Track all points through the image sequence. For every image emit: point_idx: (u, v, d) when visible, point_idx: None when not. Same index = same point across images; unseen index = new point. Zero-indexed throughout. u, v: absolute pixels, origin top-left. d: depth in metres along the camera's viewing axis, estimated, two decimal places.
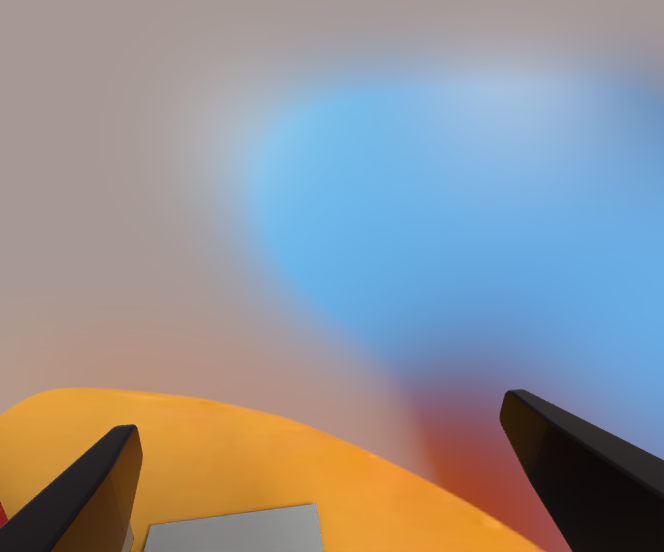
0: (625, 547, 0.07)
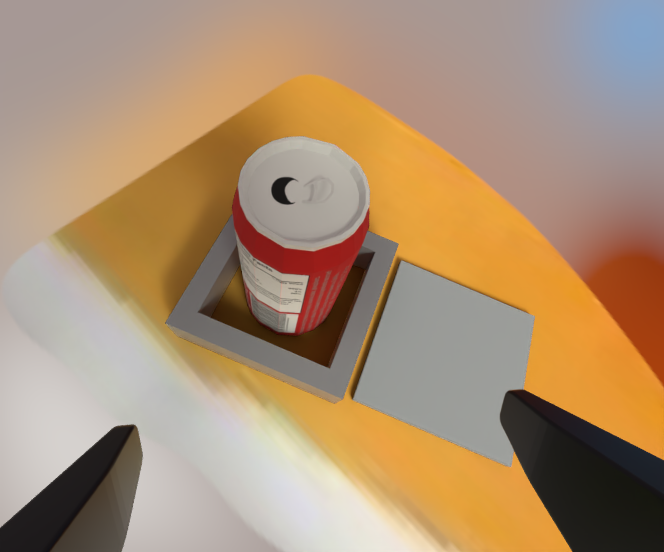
0: (625, 547, 0.07)
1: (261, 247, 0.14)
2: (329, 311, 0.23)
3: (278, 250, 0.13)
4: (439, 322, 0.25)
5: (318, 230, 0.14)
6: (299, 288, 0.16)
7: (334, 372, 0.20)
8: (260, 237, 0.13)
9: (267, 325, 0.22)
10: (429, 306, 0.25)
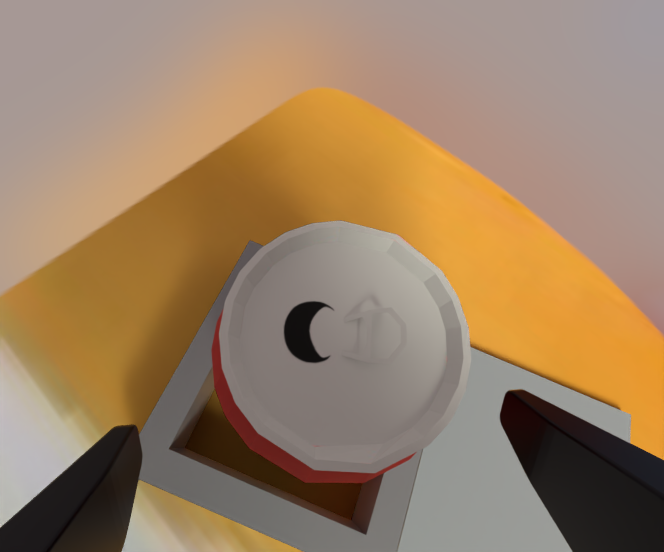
0: (625, 547, 0.07)
1: (265, 449, 0.07)
2: None
3: (299, 465, 0.07)
4: None
5: (376, 419, 0.07)
6: None
7: (373, 541, 0.14)
8: (263, 440, 0.07)
9: None
10: (491, 405, 0.19)
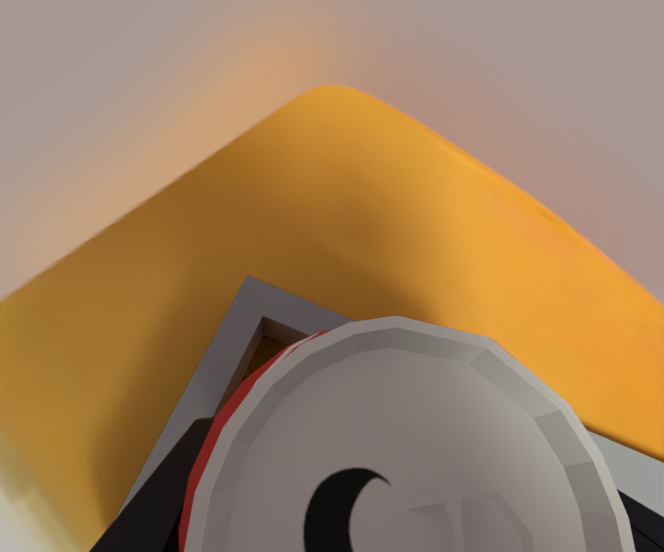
0: None
1: None
2: None
3: None
4: None
5: None
6: None
7: None
8: None
9: None
10: None
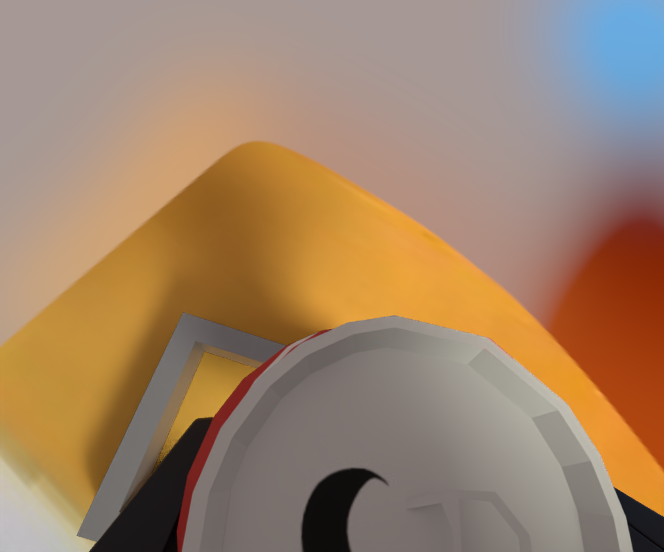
0: None
1: None
2: None
3: None
4: None
5: None
6: None
7: None
8: None
9: None
10: None
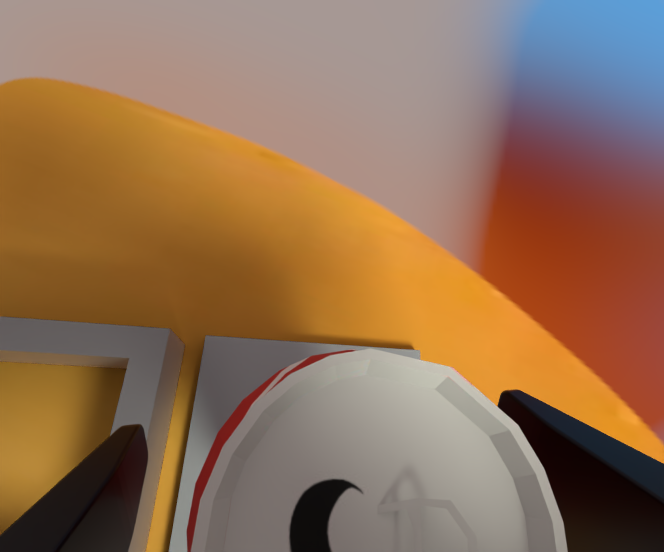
0: (619, 548, 0.07)
1: None
2: None
3: None
4: None
5: None
6: None
7: None
8: None
9: None
10: None
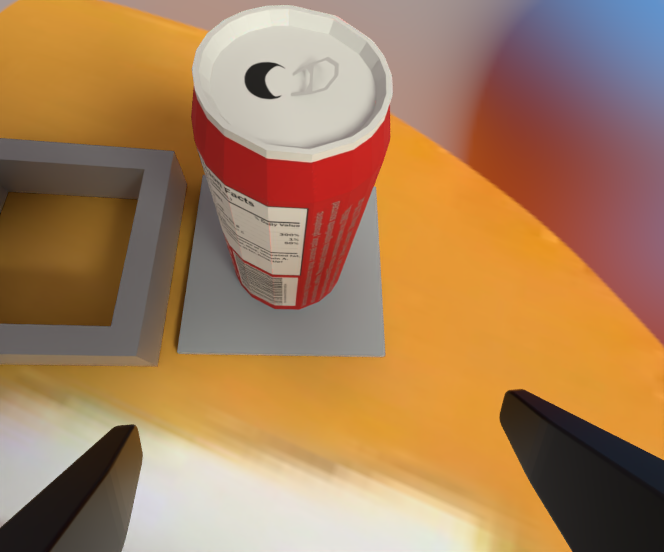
0: (625, 547, 0.07)
1: (233, 164, 0.09)
2: (337, 277, 0.18)
3: (258, 164, 0.09)
4: None
5: (317, 134, 0.09)
6: (295, 234, 0.11)
7: (118, 328, 0.15)
8: (229, 145, 0.09)
9: (261, 297, 0.18)
10: None
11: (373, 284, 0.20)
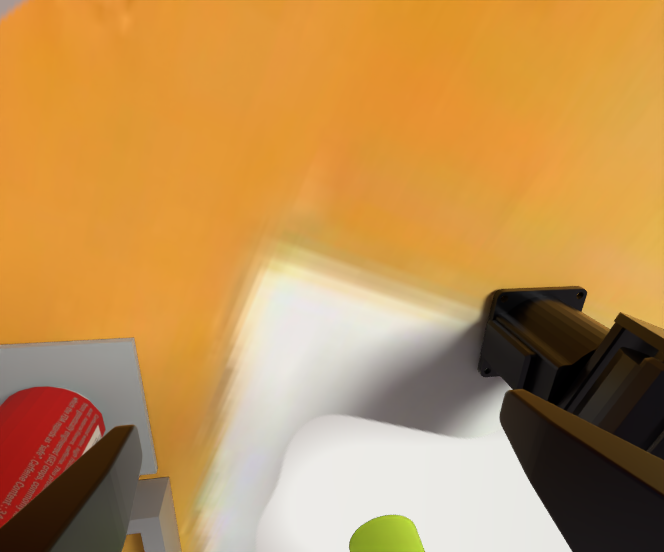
0: (625, 547, 0.07)
1: None
2: (58, 406, 0.20)
3: None
4: None
5: None
6: None
7: (141, 529, 0.23)
8: None
9: None
10: None
11: (57, 352, 0.20)
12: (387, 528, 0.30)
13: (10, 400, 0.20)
